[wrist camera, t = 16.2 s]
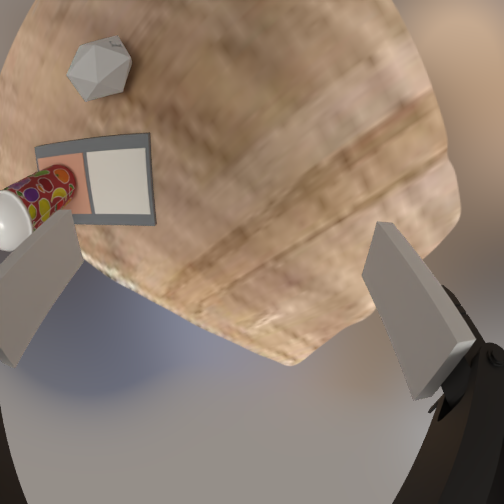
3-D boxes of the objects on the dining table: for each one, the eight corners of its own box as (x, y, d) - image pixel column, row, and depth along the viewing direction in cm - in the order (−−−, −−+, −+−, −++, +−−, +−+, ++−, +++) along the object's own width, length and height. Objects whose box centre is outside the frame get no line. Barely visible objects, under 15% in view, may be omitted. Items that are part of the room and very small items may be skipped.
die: (144, 92, 33) (141, 48, 24) (88, 122, 31) (69, 84, 22) (124, 57, 32) (118, 13, 23) (71, 84, 30) (54, 44, 21)
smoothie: (48, 205, 40) (-27, 274, 23) (40, 158, 35) (-48, 214, 18) (86, 206, 40) (11, 283, 23) (80, 155, 36) (-12, 214, 19)
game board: (37, 146, 35) (33, 147, 34) (150, 132, 36) (147, 133, 35) (51, 221, 43) (48, 224, 42) (156, 223, 43) (154, 226, 42)
